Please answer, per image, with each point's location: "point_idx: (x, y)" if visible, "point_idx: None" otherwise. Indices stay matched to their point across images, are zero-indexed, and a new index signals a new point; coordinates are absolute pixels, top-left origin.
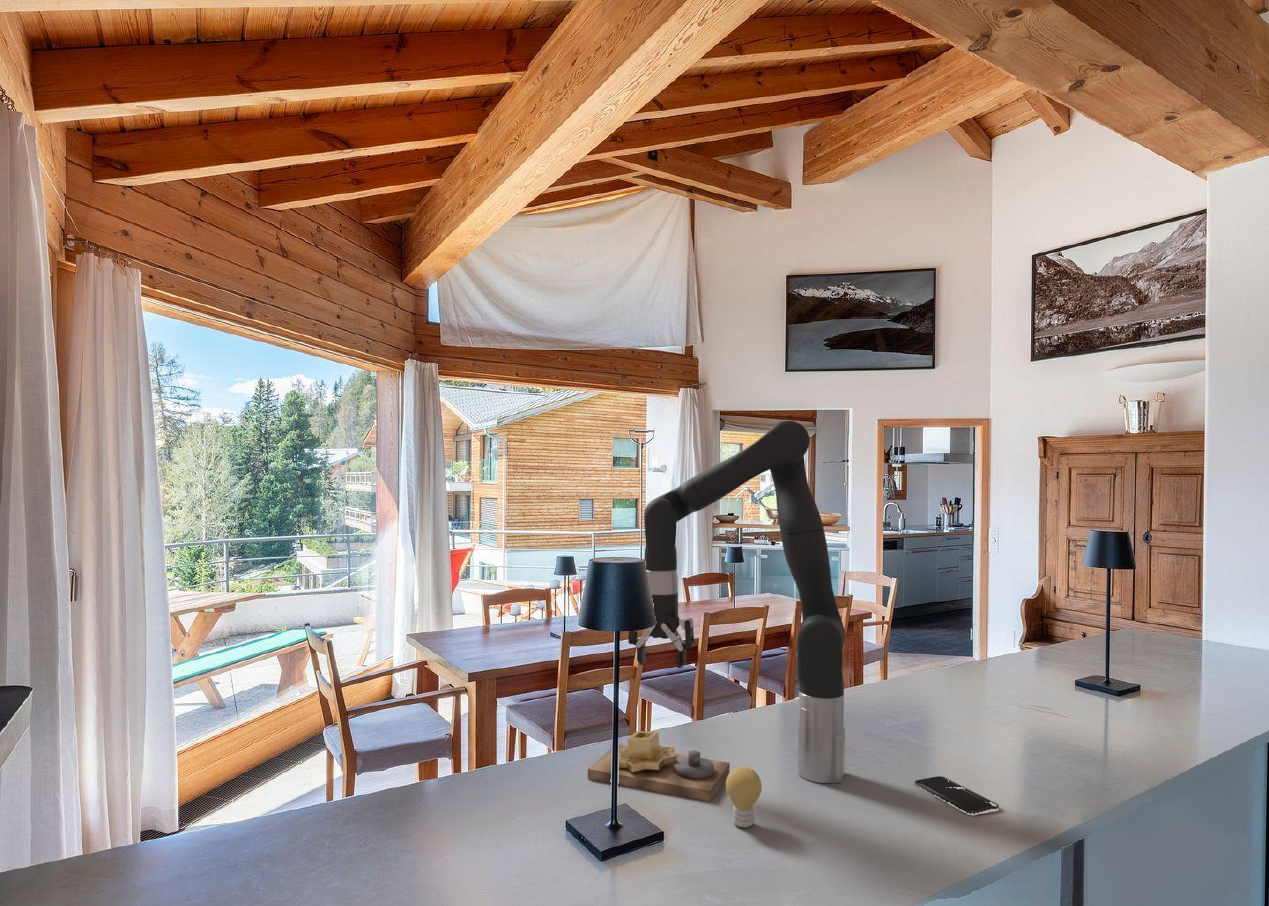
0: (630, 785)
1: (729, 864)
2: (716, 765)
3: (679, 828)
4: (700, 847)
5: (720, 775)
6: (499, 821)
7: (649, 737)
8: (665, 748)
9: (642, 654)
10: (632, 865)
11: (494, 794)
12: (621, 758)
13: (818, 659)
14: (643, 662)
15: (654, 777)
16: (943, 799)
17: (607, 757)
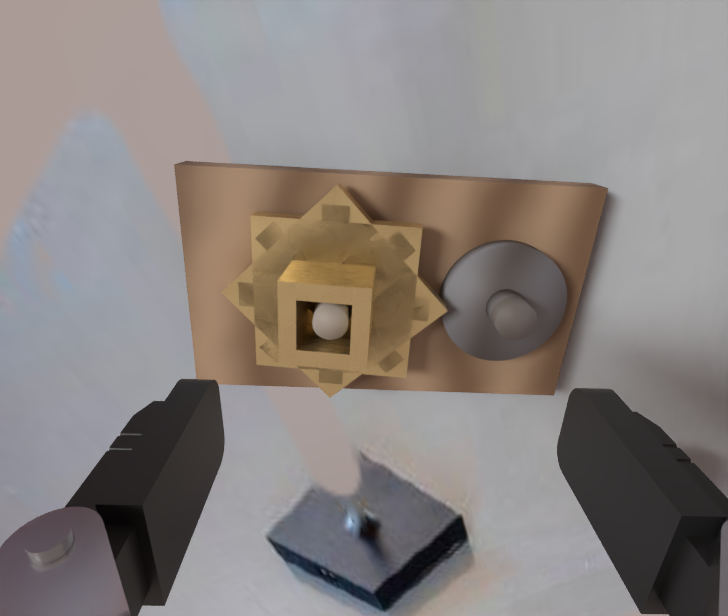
0: None
1: (589, 564)
2: (563, 227)
3: (490, 498)
4: (537, 539)
5: (578, 297)
6: None
7: (356, 347)
8: (392, 245)
9: (190, 532)
10: (435, 606)
11: (59, 501)
12: (272, 344)
13: None
14: (216, 441)
15: None
16: None
17: (207, 291)
